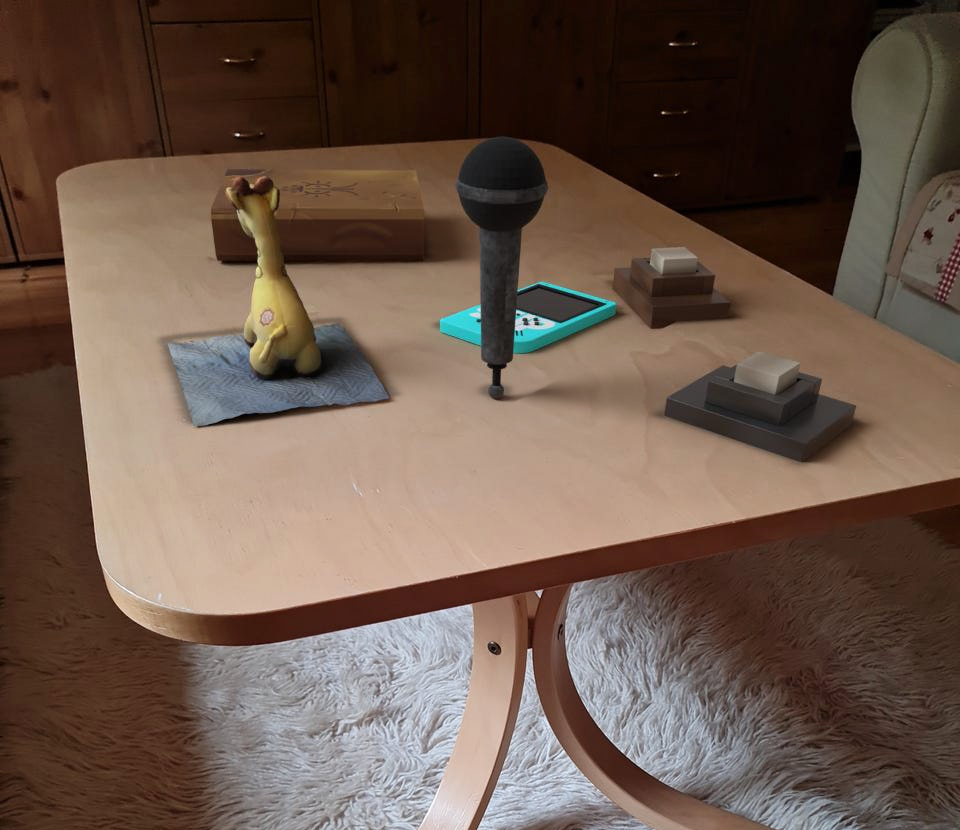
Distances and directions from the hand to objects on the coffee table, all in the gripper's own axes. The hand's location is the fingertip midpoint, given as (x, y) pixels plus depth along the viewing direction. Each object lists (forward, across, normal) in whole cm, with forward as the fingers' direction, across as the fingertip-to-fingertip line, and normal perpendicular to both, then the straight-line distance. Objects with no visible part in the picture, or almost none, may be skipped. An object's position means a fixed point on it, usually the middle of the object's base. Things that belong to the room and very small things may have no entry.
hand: (930, 1), depth 86 cm
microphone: (+27, +14, +40) cm, 50 cm away
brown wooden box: (+27, +58, +19) cm, 67 cm away
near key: (+23, -5, +30) cm, 38 cm away
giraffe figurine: (+27, +32, +49) cm, 65 cm away
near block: (+27, -5, +30) cm, 41 cm away
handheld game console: (+27, +23, +24) cm, 43 cm away
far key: (+24, +15, +10) cm, 30 cm away
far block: (+27, +16, +10) cm, 33 cm away
